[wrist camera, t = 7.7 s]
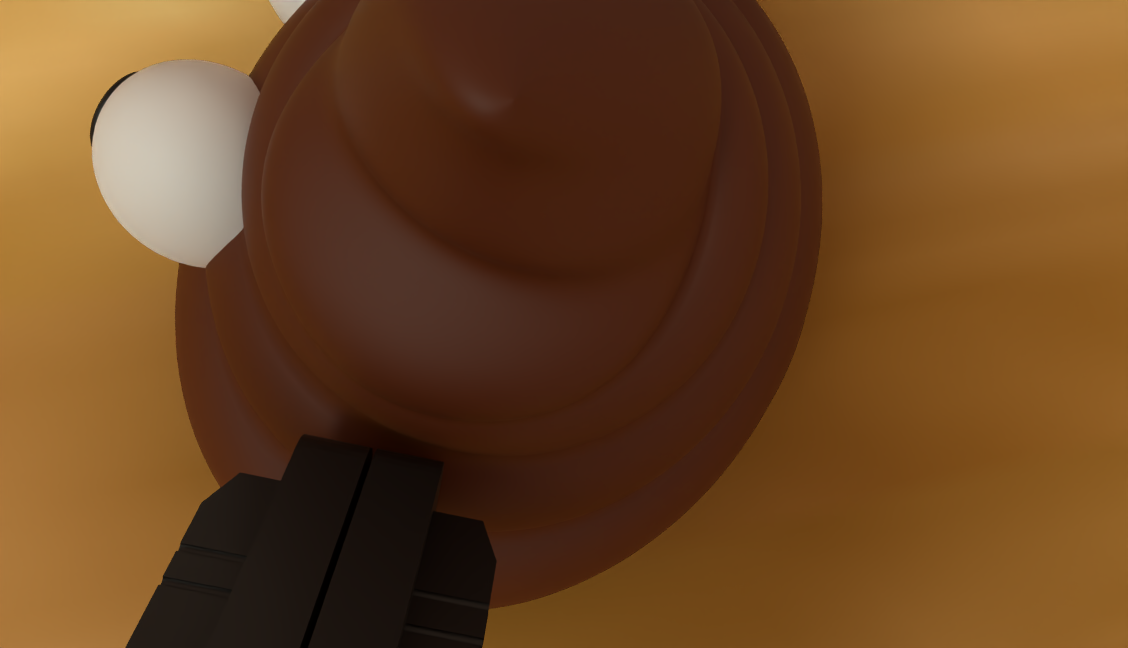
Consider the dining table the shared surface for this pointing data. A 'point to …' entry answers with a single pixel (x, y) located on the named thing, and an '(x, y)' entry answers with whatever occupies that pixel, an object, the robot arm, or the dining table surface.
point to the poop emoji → (485, 251)
